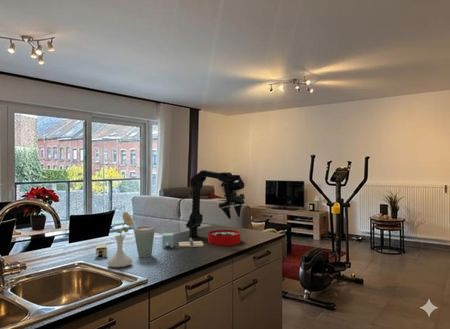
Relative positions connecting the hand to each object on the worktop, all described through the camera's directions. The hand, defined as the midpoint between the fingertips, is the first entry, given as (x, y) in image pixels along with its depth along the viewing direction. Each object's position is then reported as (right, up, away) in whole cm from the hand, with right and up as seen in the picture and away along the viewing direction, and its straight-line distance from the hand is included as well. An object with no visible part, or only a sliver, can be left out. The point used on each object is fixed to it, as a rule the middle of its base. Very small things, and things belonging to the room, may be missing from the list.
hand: (234, 217), depth 204 cm
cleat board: (-26, -16, -4) cm, 30 cm away
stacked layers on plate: (-70, -16, -28) cm, 77 cm away
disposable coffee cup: (-48, -16, -28) cm, 58 cm away
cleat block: (-39, -16, -6) cm, 43 cm away
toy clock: (-6, -16, +5) cm, 18 cm away
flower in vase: (-54, -15, -45) cm, 72 cm away
